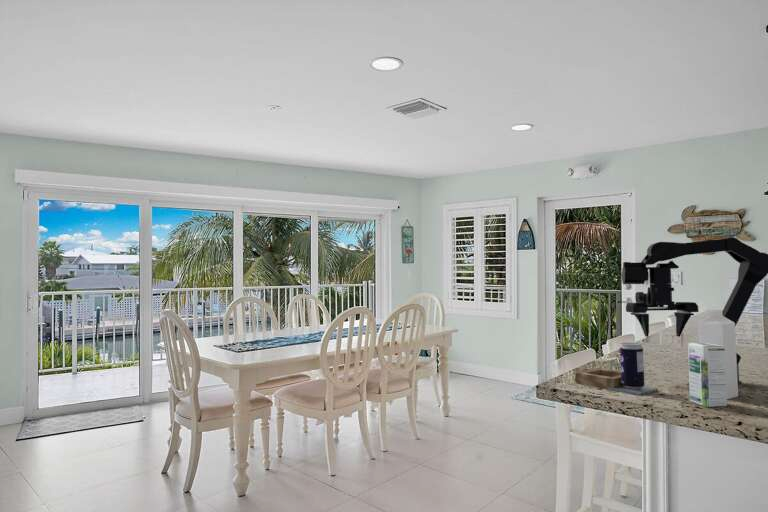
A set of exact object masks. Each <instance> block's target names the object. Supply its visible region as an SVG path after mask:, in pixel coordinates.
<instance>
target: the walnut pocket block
mask: <svg viewBox="0 0 768 512" xmlns="http://www.w3.org/2000/svg"><path fill="white" fill-rule="evenodd" d="M574 376H575V377H574V380H575V381H574V382H575V384H579V385H584V386H590V387H595V388H601V389H605V390H608V387H611V388H616V387H620V386H623V385H622V384H621V370H620V371H619V370H614V369H609V368H601V367H597V368H592V369H588V370H587V369H586V370H582V371H577V372H575V373H574Z"/></svg>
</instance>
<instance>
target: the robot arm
mask: <svg viewBox="0 0 768 512" xmlns="http://www.w3.org/2000/svg"><path fill="white" fill-rule="evenodd" d="M721 252H724V253H727V255H729V256H730V257H731V258H732V259H733V260H734V261H736V262H738V263H739V266H738V273H737V281H736V283H735V285H734V287H733V289H732V291H731V294H730V296H729V297H728V299H727V302H726V303H725V305H724V306H723V309H722V315H723V316H724V317H726V318H727V319H729V320H731V321H733V322H734V323H735V327H737V325H738V323H739V320H740V318H741V316H742V314H743V312H744V310H745V308H746V306H747V304H748V302H749V300H750V298H751V296H752V294H753V292H754V290H755V289H756V286H757V285H758V284H759V283H761V281H763V280H764V279H765V278H766V277H767V275H768V253H767V252H761V251H759V250H757V249H756V248H754V247H752V246H751V245H748V244H746V243H744V242H743V241H741V240H739V239H738V238H736V237H733V236H730V237H725V238H722V239H721V238H720V239H718V238H717V239H713V240H712V239H711V240H702V241H701V240H700V241H693V242H676V241H675V242H671V241H659V242H658V241H657V242H655V243H652V244H650V245H649V246H647V249H646V255H645V256H644V257H643V259H642V260H641V262H630V261H623V262H622V268H621V270H622V272H621V282H622V284H623V285H645V282H648V280H649V287H647V291H646V293H644V292H643V291H637V292H635V295H634V299H635V302H627V304H626V305H625V312H627V313H630V315H631V316H634V317H635V318H636V320H637V321H638V323H639V325H640V327H641V329H642V332H643V334H644V337H646V338H648V337H649V334H650V314H649V313H647V311H676V312H673V313H674V316H675V333H676V337H678V338H679V337H681V336H682V333H683V331H684V329H685V326H686V325H687V323H688V321H689V320H690V318H691V317H692V316H695V313H699V304H697V303H696V302H693V301H692V302H691V301H673V292H675V287H673V286H672V285H673V284H672V270H673V269H679V268H680V265H677V264H676V263H675V261H673V259H676V258H680V257H683V256H691V255H699V254H711V253H721ZM665 261H668V262H667V263H659V262H665ZM655 264H656V266H651V265H655ZM650 266H651V267H650ZM741 358H742V357H741V355H740V354H738V353H737V352H736V359H737V381H738V385H739V384H742V383H743V381H742V380H740V367H739V366H740V365H739V363H740V361H741Z"/></svg>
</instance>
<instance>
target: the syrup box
mask: <svg viewBox="0 0 768 512" xmlns="http://www.w3.org/2000/svg"><path fill="white" fill-rule="evenodd" d="M687 350H688V351H687V352H688V353H687V354H688V380H689V381H688V383H689V386H688V387H689V402H690V403H694V404H697V405H700V406H702V407H704V408H711V407H715V408H716V407H717V408H718V407H727V406H728V402H727V401H728V399H727V392H726V364H725V346H720V345H715V344H709V343H699V342H689V343H688V344H687Z"/></svg>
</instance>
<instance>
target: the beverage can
mask: <svg viewBox="0 0 768 512" xmlns="http://www.w3.org/2000/svg"><path fill="white" fill-rule="evenodd" d="M619 352H620V353H619V356H620V359H619V360H620V371H621V384H622V385H623V386H624V387H625V388H627V389H641V388H642V387H643V386H645V364H644V363H645V362H644V348H643V346H642V343H640V342H639V343H638V342H622V343H621V345H620V348H619Z"/></svg>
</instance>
